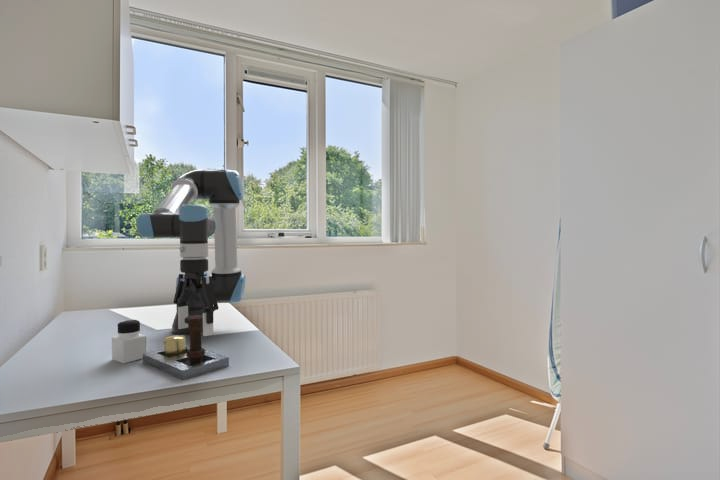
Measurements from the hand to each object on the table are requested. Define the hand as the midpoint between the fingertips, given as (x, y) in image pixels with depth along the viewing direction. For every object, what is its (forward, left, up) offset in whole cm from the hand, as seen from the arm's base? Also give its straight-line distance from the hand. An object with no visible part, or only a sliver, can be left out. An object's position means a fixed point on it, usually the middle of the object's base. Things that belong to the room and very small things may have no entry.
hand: (195, 331), depth 115 cm
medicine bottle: (-25, -8, -11) cm, 28 cm away
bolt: (0, 0, -11) cm, 11 cm away
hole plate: (-6, 0, -11) cm, 12 cm away
